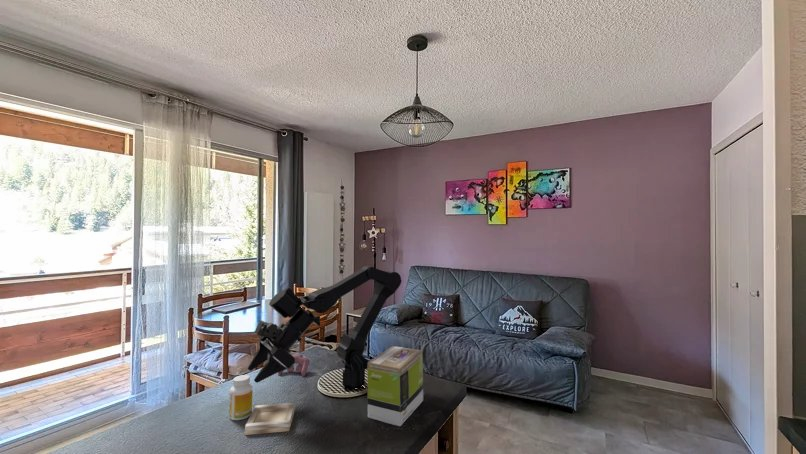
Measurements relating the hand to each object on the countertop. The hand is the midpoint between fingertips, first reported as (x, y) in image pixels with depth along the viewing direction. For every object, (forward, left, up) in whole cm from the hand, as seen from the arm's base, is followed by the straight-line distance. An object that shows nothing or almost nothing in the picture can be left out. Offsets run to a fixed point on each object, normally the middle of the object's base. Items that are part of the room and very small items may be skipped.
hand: (251, 375), depth 89 cm
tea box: (-38, +5, -10) cm, 40 cm away
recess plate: (-6, +6, -10) cm, 13 cm away
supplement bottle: (+2, +1, -10) cm, 10 cm away
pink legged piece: (-8, -26, -10) cm, 28 cm away
